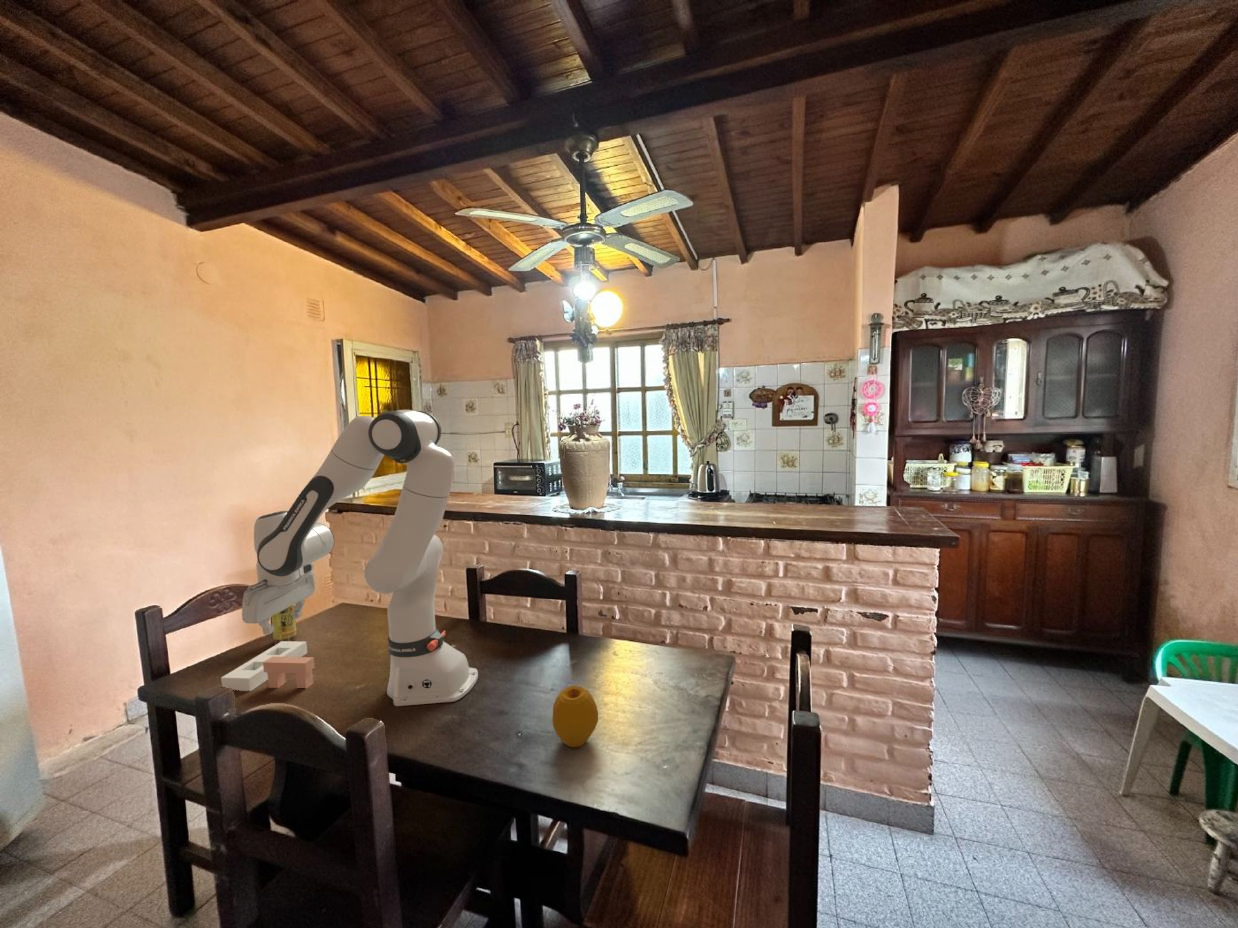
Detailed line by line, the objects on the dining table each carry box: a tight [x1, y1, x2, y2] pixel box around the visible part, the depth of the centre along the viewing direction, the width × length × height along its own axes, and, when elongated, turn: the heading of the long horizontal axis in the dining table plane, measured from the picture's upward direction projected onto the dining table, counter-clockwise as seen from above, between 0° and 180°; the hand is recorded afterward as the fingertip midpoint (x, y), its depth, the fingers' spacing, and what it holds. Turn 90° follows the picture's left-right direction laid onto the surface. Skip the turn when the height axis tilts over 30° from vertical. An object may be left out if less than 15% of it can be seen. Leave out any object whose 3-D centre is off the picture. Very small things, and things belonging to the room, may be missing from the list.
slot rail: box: [220, 640, 308, 692], centre depth 135 cm, size 8×20×4 cm, turn 174°
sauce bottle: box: [270, 604, 298, 645], centre depth 152 cm, size 7×6×20 cm
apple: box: [552, 685, 599, 748], centre depth 101 cm, size 10×10×12 cm
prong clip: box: [263, 656, 316, 690], centre depth 126 cm, size 3×12×7 cm, turn 84°
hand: (283, 624), depth 125 cm, fingers open, 8 cm apart
